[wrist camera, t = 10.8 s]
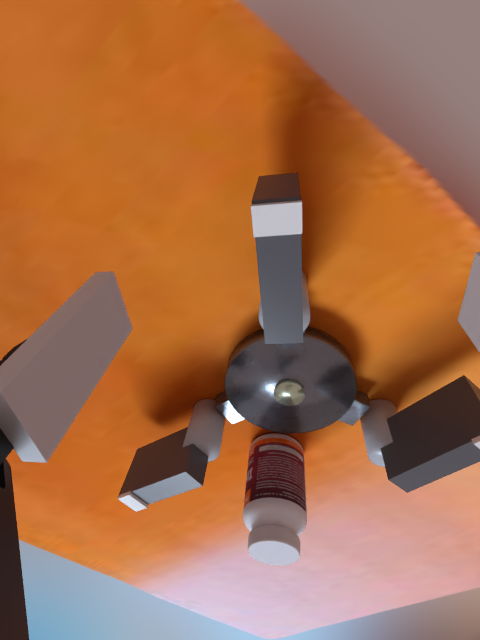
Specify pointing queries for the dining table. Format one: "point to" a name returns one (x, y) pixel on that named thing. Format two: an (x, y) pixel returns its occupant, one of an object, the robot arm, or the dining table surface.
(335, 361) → the base
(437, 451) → the dark bar with dome
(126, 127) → the dining table surface
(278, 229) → the grey bar white cap
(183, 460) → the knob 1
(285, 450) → the pill bottle
